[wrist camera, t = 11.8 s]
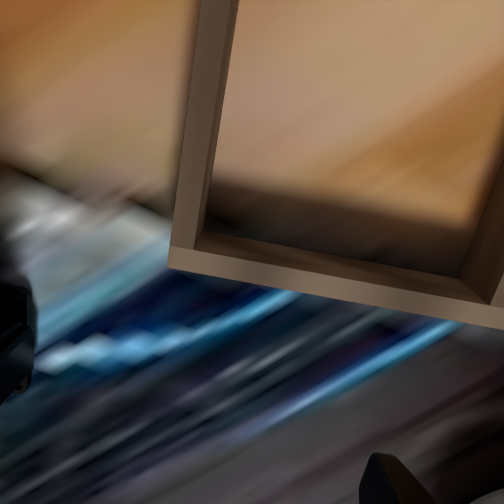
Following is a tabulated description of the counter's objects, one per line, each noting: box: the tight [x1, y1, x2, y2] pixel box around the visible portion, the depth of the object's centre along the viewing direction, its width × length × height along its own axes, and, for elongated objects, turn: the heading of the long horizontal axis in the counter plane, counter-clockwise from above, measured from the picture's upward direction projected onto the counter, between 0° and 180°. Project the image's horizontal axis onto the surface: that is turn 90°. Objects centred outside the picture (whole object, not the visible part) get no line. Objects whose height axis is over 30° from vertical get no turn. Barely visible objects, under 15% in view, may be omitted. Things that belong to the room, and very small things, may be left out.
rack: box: [167, 0, 504, 330], centre depth 17 cm, size 20×13×3 cm, turn 79°
